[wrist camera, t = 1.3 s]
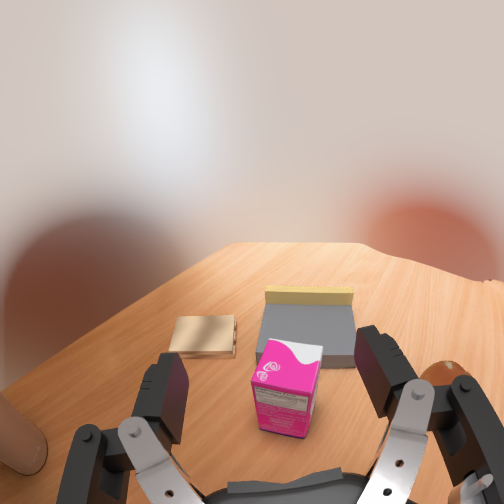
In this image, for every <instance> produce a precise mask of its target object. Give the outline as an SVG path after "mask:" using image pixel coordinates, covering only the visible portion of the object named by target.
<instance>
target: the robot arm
mask: <svg viewBox="0 0 504 504" xmlns="http://www.w3.org/2000/svg"><path fill="white" fill-rule="evenodd" d="M354 360H355V364H356V366H357V369H358V371H359V373H360V375H361V378H362V380H363V382H364V385H365V387H366V389H367V391H368V394H369V396H370V399H371V401H372V403H373V406H374V408H375V410H376V413H377V415H378V418H382V417H385V416H387V418H388V420H389V422H388V424H387V427H386V430H385V432H384V435H383V437H382V440H381V442H380V445H379V447H378V449H377V452H376V454H375V456H374V458H373V460H372V462H371V464H370V466H369V468H368V470H367V472H366V474H365V476H364V475H360V474H356V473H347V472H342V471H341V467H339V468H335V469H330V470H326V471H321V472H316V473H312V474H310V475H307V476H305V477H302V478H300V479H297V480H295V481H292V482H289V483H285V484H280V483H270V482H262V481H241V482H228V488H224V489H221V490H218V491H216V492H213V493H211V494H210V495H208V496H206V495H205V494H204V492H203V491H202V490H201V489H200V488H199V487H198V486H197V485H196V484H195V483H194V481H193V480H192V479H191V478H190V476H189V475H188V474H187V473H186V471H185V470H184V469H183V467H182V466H181V465H180V463H179V462H178V461H177V459H176V458H175V456H174V455H173V454H172V452H171V447H172V444H180V442H181V435H182V428H183V421H184V414H185V407H186V401H187V395H188V388H189V379H188V375H187V372H186V370H185V368H184V365H183V363H182V360H181V358H180V356H179V354H178V353H177V352H172V353H161V354H160V356H159V360H158V363H157V364H152V365H151V366H150V367H149V368H148V369H147V371H146V372H145V374H144V377H143V380H142V383H141V387H140V390H139V393H138V396H137V399H136V403H135V406H134V409H133V412H132V415H131V417H130V418H127V419H125V420H124V421H123V422H122V423H121V424H120V426H119V427H118V428H114V429H108V430H102V431H101V430H100V429H99V428H98V427H97V426H95V425H92V424H86V425H83V426H81V427H80V428H79V429H78V430H77V431H76V433H75V435H74V438H73V441H72V444H71V448H70V451H69V454H68V458H67V461H66V465H65V469H64V472H63V476H62V480H61V484H60V488H59V493H58V497H57V502H56V504H126V499H127V491H128V483H129V476H130V470H136V471H137V474H136V478H137V480H138V482H139V484H140V485H141V487H142V489H143V490H144V492H145V494H146V495H147V497H148V498H149V500H150V501H151V503H152V504H417V503H415V502H413V501H411V500H409V499H408V496H409V494H410V491H411V489H412V486H413V484H414V481H415V478H416V476H417V473H418V470H419V467H420V464H421V461H422V458H423V455H424V451H425V448H426V444H427V440H428V436H427V435H426V431H433V434H434V436H435V438H436V441H437V443H438V446H439V448H440V451H441V453H442V456H443V459H444V461H445V464H446V467H447V470H448V472H449V475H450V478H451V481H452V484H453V487H454V488H453V489H452V491H451V492H450V494H449V497H448V504H504V427H503V425H502V423H501V421H500V420H499V418H498V416H497V414H496V412H495V411H494V409H493V407H492V405H491V404H490V402H489V400H488V398H487V397H486V395H485V393H484V392H483V390H482V389H481V387H480V385H479V384H478V382H477V381H476V380H475V379H474V378H473V377H471V376H469V375H460V376H457V377H456V378H455V379H454V380H453V382H452V384H450V385H440V386H432V385H431V384H430V383H429V382H428V381H426V380H423V379H419V378H418V376H417V375H416V373H415V371H414V370H413V368H412V367H411V365H410V363H409V362H408V360H407V359H406V357H405V355H403V352H402V351H401V349H399V346H398V344H397V343H396V341H395V340H394V339H393V338H392V337H390V336H389V335H387V334H386V333H384V334H380V333H379V331H378V330H377V328H376V327H375V326H374V325H370V326H366V327H362V328H358V329H357V333H356V341H355V348H354ZM46 455H47V444H46V440H45V437H44V435H43V434H42V432H41V431H40V430H39V429H38V428H37V427H36V426H34V425H33V424H32V423H31V422H30V421H29V420H28V419H27V418H26V417H25V416H24V415H23V414H21V413H20V412H19V411H18V410H17V409H16V408H15V407H14V406H13V405H12V404H11V403H10V402H9V401H8V400H7V399H6V398H5V396H4V395H3V394H2V393H1V392H0V461H2V462H3V463H5V464H6V465H8V466H9V467H11V468H12V469H14V470H16V471H17V472H19V473H20V474H24V475H31V474H34V473H36V472H38V471H39V470H40V469H41V468H42V466H43V464H44V462H45V460H46Z"/></svg>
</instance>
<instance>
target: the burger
mask: <svg viewBox="0 0 504 504" xmlns="http://www.w3.org/2000/svg"><path fill="white" fill-rule="evenodd" d="M460 375H469V376H471V374H470V373H468V372H466V371H465V370H464V369H463V368H462V367H461V366H460V365H459V364H457V363H456V362H453V361H440V362H437V363H434V364H433V365H431V366H430V367H429V368H427V369H426V370H425V371H424V372H423V374H422V375H421V377H420V378H419V379H423V380H426V381H428V382H429V383H430V384H431V385H432V386H440V385H450V384H452V382H453V380H454V379H455V378H456V377H457V376H460ZM471 377H472V376H471Z"/></svg>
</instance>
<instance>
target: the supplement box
mask: <svg viewBox="0 0 504 504" xmlns="http://www.w3.org/2000/svg"><path fill="white" fill-rule="evenodd" d="M322 353H323V346H318V345H310V344H302V343H295V342H289V341H283V340H277V339H272V338H269V340H268V342H267V344H266V347H265V349H264V351H263V354H262V356H261V358H260V361H259V363H258V365H257V368H256V370H255V372H254V375H253V377H252V379H251V385H252V390H253V396H254V401H255V406H256V412H257V417H258V423H259V428H260V429H261V430H265V431H269V432H273V433H278V434H282V435H287V436H292V437H297V438H303V439H305V437H306V435H307V432H308V429H309V425H310V422H311V418H312V414H313V410H314V406H315V399H316V393H317V387H318V381H319V374H320V368H321V361H322Z"/></svg>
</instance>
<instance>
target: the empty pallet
mask: <svg viewBox="0 0 504 504" xmlns="http://www.w3.org/2000/svg"><path fill="white" fill-rule="evenodd" d="M236 328H237V321H236V318H235V315H219V316H184V317H178V319H177V322H176V326H175V329H174V333H173V336H172V340H171V343H170V347H169V353H172V352H177V353H178V354H179V356H180V358H182V359H222V358H235V350H236V349H235V345H234V344H235V343H236V331H234V330H236Z"/></svg>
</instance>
